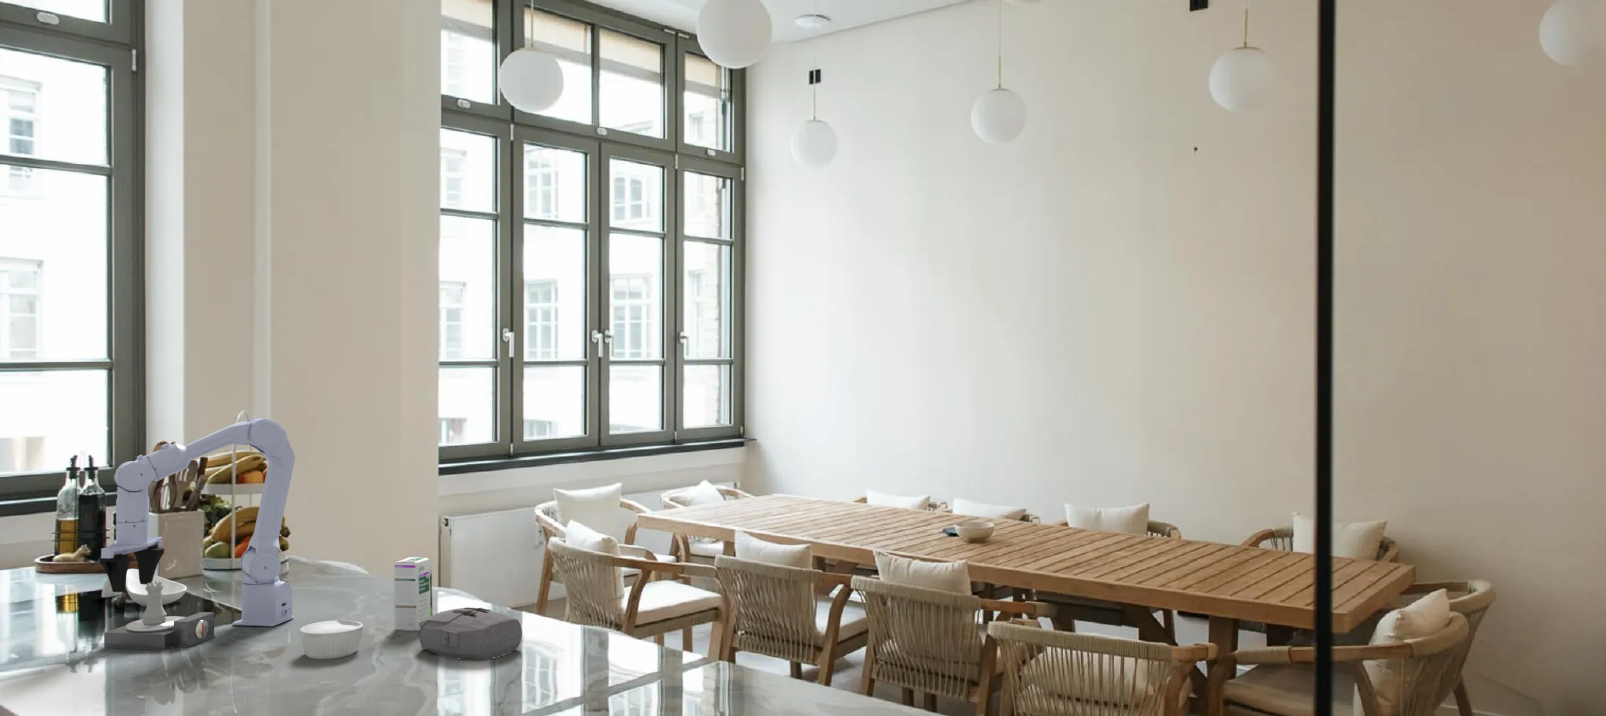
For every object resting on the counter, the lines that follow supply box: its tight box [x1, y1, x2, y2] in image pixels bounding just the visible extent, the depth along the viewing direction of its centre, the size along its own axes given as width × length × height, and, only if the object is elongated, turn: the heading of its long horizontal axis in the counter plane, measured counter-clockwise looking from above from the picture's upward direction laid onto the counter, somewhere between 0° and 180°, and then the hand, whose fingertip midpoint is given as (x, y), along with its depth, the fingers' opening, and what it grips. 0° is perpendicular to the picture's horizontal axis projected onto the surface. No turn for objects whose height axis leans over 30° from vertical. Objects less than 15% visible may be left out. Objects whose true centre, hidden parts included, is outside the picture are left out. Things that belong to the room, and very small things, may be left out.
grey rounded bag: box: [417, 607, 523, 660], centre depth 215 cm, size 15×8×20 cm
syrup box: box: [393, 556, 433, 632], centre depth 233 cm, size 6×6×14 cm
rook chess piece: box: [142, 582, 168, 625], centre depth 222 cm, size 4×4×8 cm
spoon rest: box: [101, 568, 188, 607], centre depth 258 cm, size 24×12×7 cm, turn 64°
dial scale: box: [103, 611, 215, 651], centre depth 222 cm, size 16×13×5 cm
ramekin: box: [299, 619, 364, 660], centre depth 213 cm, size 11×11×5 cm
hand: (132, 587), depth 222 cm, fingers open, 7 cm apart
